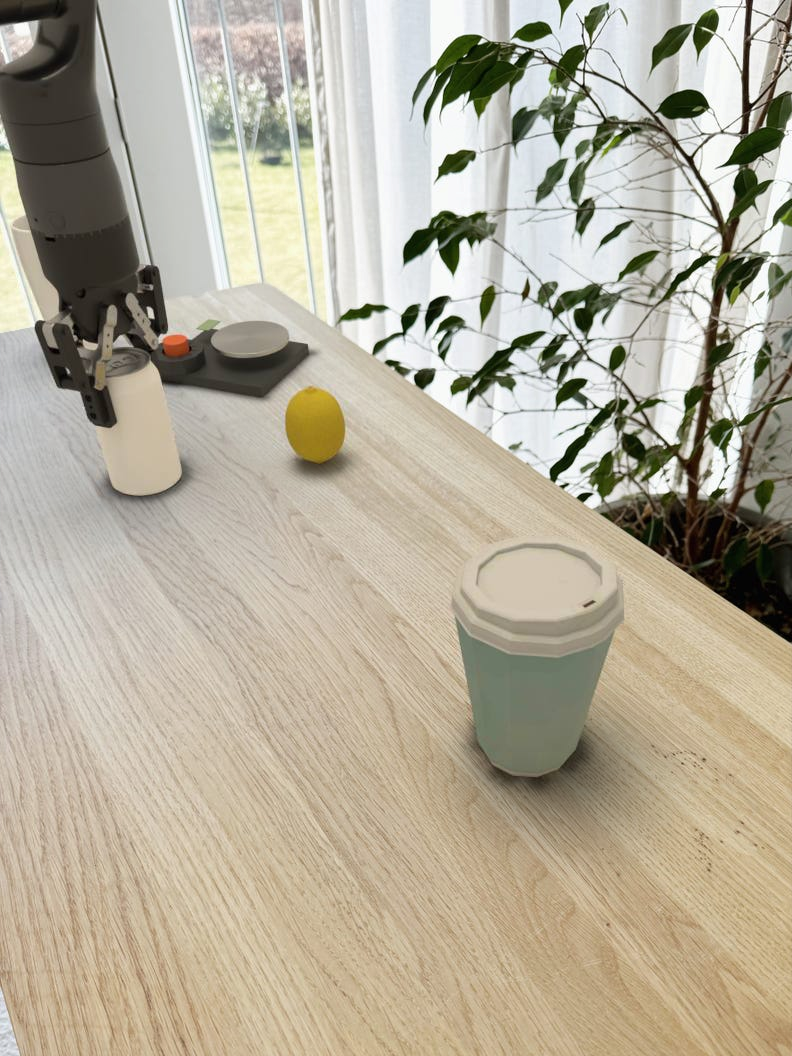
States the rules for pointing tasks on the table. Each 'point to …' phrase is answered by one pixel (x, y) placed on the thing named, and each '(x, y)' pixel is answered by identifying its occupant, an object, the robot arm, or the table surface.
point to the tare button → (175, 345)
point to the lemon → (315, 424)
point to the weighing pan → (247, 338)
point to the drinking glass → (36, 272)
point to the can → (138, 426)
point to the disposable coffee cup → (534, 645)
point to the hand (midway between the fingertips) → (128, 405)
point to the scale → (229, 367)
